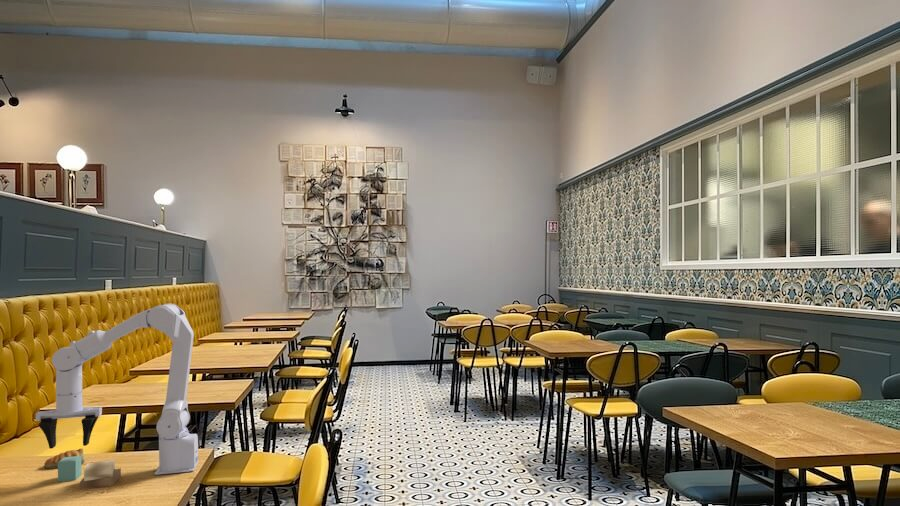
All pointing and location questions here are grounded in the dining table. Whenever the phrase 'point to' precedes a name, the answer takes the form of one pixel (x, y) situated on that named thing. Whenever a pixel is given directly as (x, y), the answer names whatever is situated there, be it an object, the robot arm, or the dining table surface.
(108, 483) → the tower base
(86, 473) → the tower top
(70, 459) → the teal block
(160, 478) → the dining table surface
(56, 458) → the pastry
